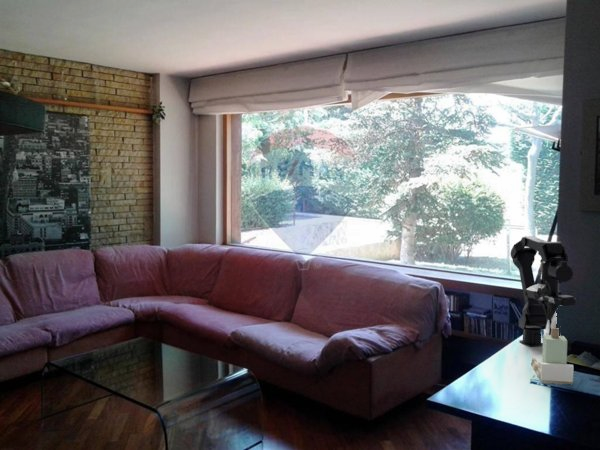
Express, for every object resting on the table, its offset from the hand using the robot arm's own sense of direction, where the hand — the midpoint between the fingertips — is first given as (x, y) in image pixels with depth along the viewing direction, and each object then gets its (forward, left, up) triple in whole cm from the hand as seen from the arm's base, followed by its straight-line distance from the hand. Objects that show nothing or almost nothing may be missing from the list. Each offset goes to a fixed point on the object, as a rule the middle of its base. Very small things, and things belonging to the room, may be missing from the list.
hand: (548, 319), depth 192 cm
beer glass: (-18, +18, -13) cm, 29 cm away
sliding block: (+19, -15, -12) cm, 27 cm away
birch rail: (+16, -13, -13) cm, 24 cm away
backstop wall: (+23, -17, -13) cm, 31 cm away
